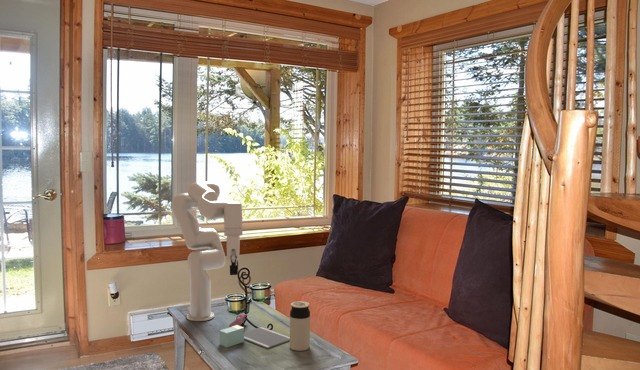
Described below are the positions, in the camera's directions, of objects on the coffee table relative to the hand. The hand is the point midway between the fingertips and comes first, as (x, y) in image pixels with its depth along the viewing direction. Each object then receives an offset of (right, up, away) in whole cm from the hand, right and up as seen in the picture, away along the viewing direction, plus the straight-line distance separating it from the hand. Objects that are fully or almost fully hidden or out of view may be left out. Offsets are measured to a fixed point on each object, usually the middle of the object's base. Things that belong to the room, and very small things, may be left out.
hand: (234, 272), depth 232 cm
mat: (+12, -28, +1) cm, 30 cm away
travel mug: (+28, -29, -9) cm, 41 cm away
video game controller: (0, -27, +16) cm, 31 cm away
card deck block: (0, -28, -5) cm, 29 cm away
